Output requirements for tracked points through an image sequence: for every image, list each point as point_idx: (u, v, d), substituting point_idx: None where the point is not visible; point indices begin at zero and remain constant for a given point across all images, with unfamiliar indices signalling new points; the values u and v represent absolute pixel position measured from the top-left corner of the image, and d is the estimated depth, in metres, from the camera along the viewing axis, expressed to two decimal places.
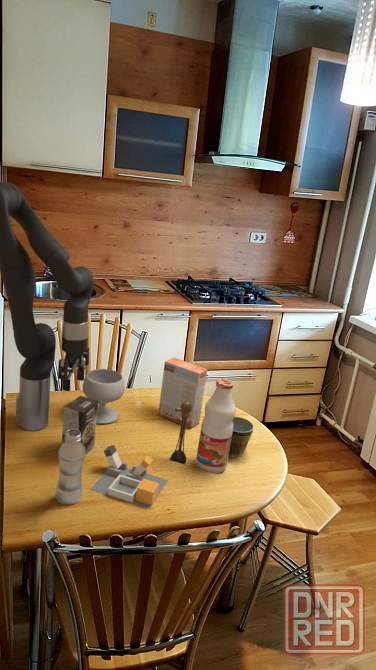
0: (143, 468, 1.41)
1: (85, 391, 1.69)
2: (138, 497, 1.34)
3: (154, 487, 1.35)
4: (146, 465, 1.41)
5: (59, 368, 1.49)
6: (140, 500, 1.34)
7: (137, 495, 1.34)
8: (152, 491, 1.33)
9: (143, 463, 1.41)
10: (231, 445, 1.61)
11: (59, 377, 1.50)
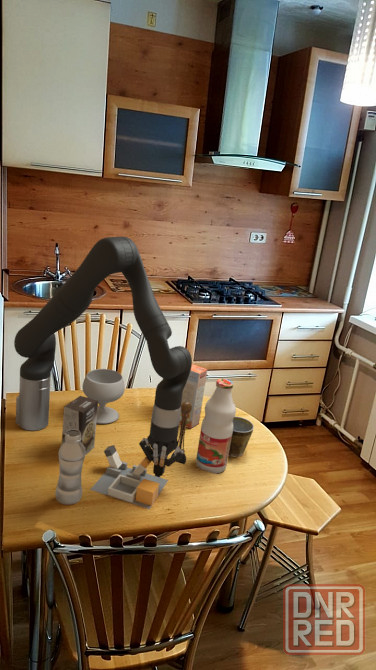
0: (143, 468, 1.41)
1: (85, 391, 1.69)
2: (138, 497, 1.34)
3: (154, 487, 1.35)
4: (146, 465, 1.41)
5: (176, 460, 1.38)
6: (140, 500, 1.34)
7: (137, 495, 1.34)
8: (152, 491, 1.33)
9: (143, 463, 1.41)
10: (231, 445, 1.61)
11: None
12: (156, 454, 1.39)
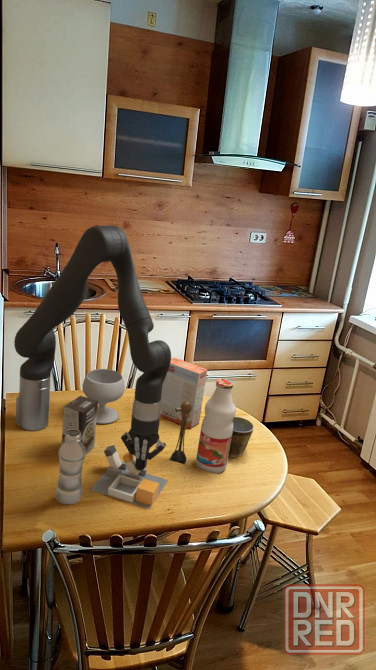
0: (130, 463, 1.42)
1: (85, 391, 1.69)
2: (138, 497, 1.34)
3: (154, 487, 1.35)
4: (127, 458, 1.42)
5: (158, 453, 1.39)
6: (140, 500, 1.34)
7: (137, 495, 1.34)
8: (152, 491, 1.33)
9: (125, 460, 1.42)
10: (231, 445, 1.61)
11: None
12: (137, 448, 1.40)
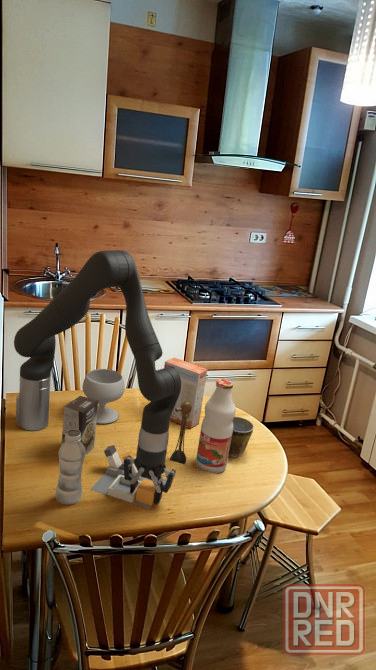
0: None
1: (85, 391, 1.69)
2: (138, 497, 1.34)
3: (154, 487, 1.35)
4: None
5: (171, 482, 1.32)
6: (140, 500, 1.34)
7: (137, 495, 1.34)
8: (152, 491, 1.33)
9: None
10: (231, 445, 1.61)
11: None
12: (138, 476, 1.33)
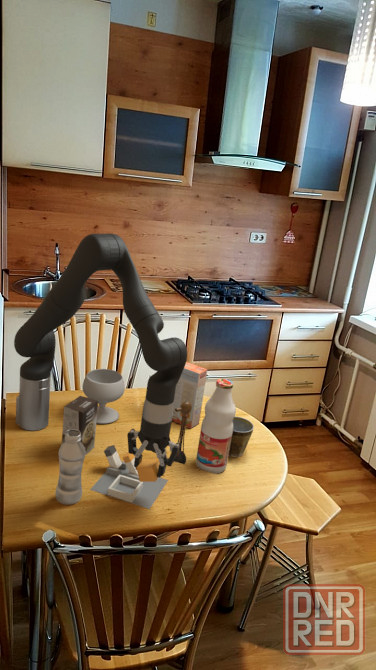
0: (130, 463, 1.42)
1: (85, 391, 1.69)
2: (141, 477, 1.32)
3: (153, 462, 1.33)
4: (127, 458, 1.42)
5: (175, 455, 1.29)
6: (144, 479, 1.32)
7: (139, 475, 1.32)
8: (151, 466, 1.31)
9: (125, 460, 1.42)
10: (231, 445, 1.61)
11: None
12: (142, 449, 1.31)
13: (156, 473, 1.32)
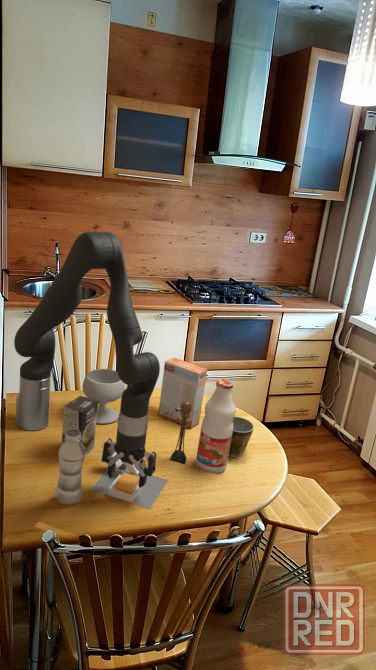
0: None
1: (85, 391, 1.69)
2: None
3: (134, 481, 1.36)
4: None
5: (152, 464, 1.32)
6: None
7: (117, 489, 1.36)
8: (132, 485, 1.34)
9: None
10: (231, 445, 1.61)
11: (152, 473, 1.33)
12: (116, 460, 1.34)
13: (133, 491, 1.36)
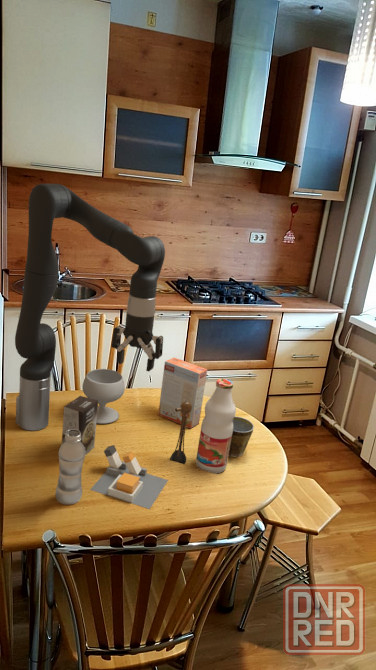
0: (130, 463, 1.42)
1: (85, 391, 1.69)
2: None
3: (134, 481, 1.36)
4: (127, 458, 1.42)
5: (160, 347, 1.39)
6: None
7: (117, 489, 1.36)
8: (132, 485, 1.34)
9: (125, 460, 1.42)
10: (231, 445, 1.61)
11: (159, 356, 1.40)
12: (125, 344, 1.41)
13: (133, 491, 1.36)
